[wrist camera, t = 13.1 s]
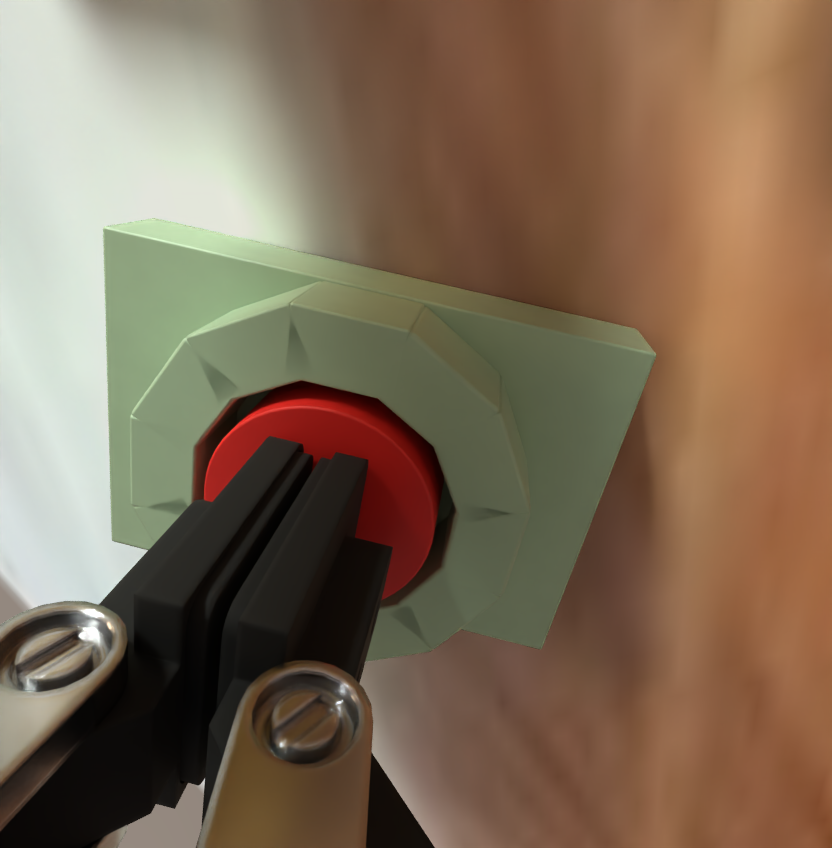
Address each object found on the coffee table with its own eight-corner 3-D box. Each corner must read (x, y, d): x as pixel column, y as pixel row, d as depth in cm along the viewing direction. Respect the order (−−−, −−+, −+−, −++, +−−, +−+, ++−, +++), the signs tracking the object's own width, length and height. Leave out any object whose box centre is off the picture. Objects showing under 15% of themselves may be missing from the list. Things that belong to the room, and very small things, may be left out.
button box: (637, 328, 12) (687, 391, 9) (537, 599, 15) (547, 720, 11) (153, 217, 12) (27, 237, 9) (151, 502, 15) (56, 594, 12)
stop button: (466, 398, 11) (459, 440, 9) (421, 572, 12) (409, 633, 11) (251, 347, 11) (208, 380, 9) (236, 526, 13) (198, 579, 11)
